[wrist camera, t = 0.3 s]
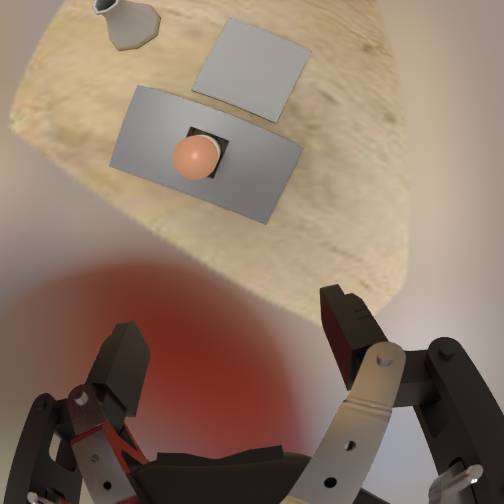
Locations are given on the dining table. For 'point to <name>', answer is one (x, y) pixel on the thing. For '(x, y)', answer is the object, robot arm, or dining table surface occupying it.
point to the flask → (128, 22)
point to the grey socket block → (231, 165)
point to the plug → (196, 156)
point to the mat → (252, 69)
